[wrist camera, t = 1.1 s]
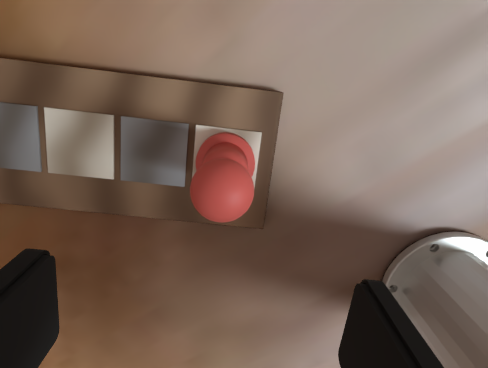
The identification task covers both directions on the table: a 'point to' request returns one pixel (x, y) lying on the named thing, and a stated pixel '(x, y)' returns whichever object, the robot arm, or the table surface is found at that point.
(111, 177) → the board
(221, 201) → the pawn
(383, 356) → the robot arm
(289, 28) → the table surface
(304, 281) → the table surface
